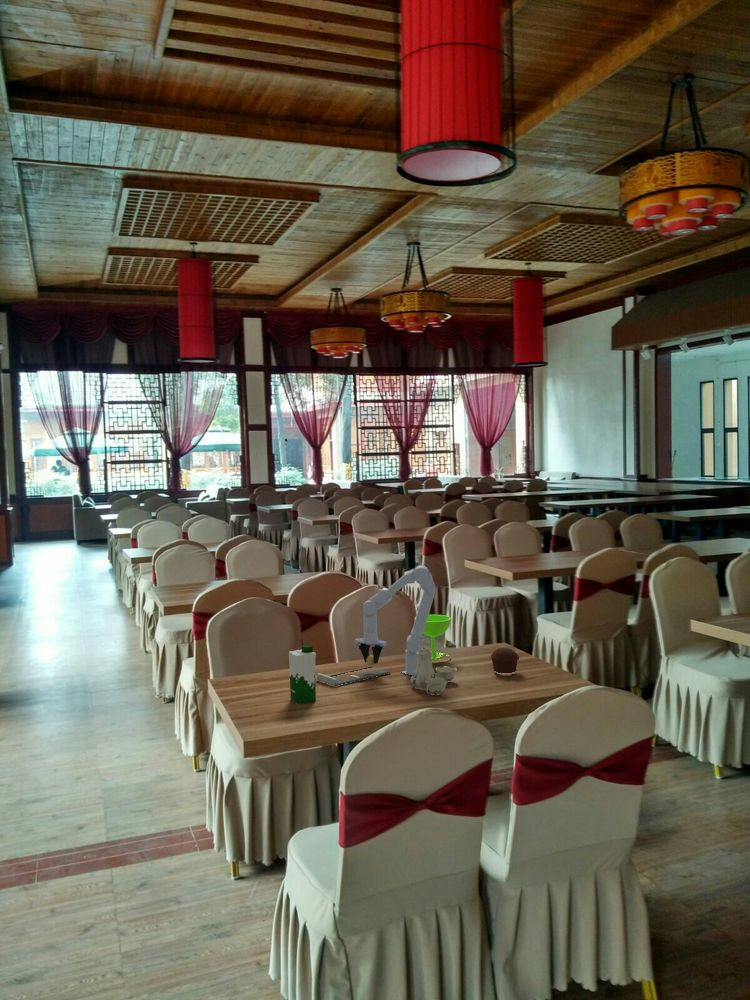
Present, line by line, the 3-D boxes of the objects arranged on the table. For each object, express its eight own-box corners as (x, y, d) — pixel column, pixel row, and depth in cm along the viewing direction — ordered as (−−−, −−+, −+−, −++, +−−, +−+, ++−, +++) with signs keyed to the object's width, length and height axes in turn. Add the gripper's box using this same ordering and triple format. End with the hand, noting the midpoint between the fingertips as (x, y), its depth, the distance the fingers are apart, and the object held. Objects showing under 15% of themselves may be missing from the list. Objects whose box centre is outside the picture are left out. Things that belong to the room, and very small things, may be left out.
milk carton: (319, 701, 295) (318, 647, 294) (296, 705, 291) (294, 650, 290) (309, 695, 303) (308, 642, 302) (287, 699, 299) (285, 645, 298)
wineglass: (409, 656, 360) (409, 616, 360) (443, 653, 365) (442, 613, 364) (422, 665, 345) (422, 623, 344) (457, 661, 350) (456, 620, 349)
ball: (378, 664, 333) (378, 655, 332) (370, 666, 330) (370, 656, 330) (372, 663, 336) (371, 653, 335) (364, 664, 333) (364, 655, 333)
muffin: (484, 673, 330) (484, 648, 330) (502, 668, 338) (501, 644, 337) (508, 678, 322) (507, 653, 321) (525, 673, 329) (525, 648, 329)
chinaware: (448, 703, 296) (452, 659, 294) (403, 697, 299) (407, 653, 298) (456, 682, 323) (460, 641, 322) (415, 677, 326) (418, 636, 325)
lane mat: (390, 674, 332) (389, 666, 331) (335, 687, 314) (334, 679, 314) (371, 668, 341) (371, 661, 341) (317, 681, 323) (316, 673, 323)
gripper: (390, 629, 331) (391, 662, 332) (361, 626, 339) (362, 658, 340) (381, 632, 326) (382, 666, 326) (351, 629, 334) (352, 662, 334)
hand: (371, 662), depth 333 cm, fingers closed on ball, 4 cm apart
